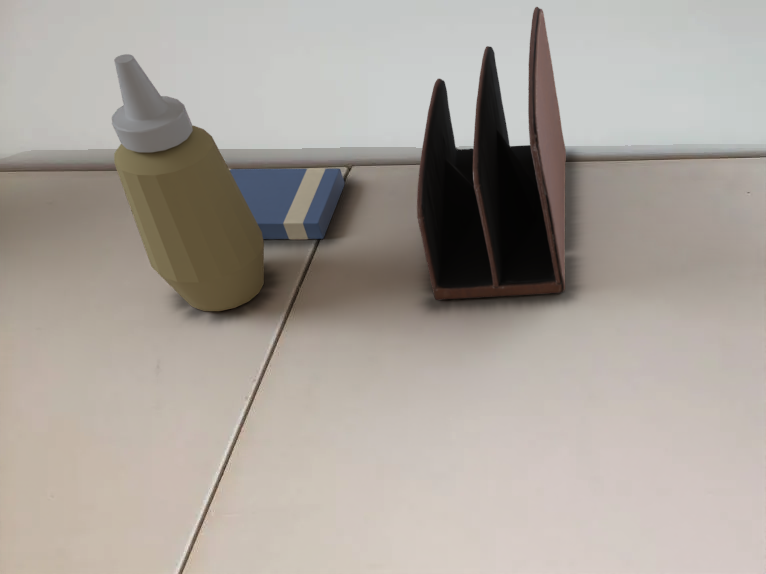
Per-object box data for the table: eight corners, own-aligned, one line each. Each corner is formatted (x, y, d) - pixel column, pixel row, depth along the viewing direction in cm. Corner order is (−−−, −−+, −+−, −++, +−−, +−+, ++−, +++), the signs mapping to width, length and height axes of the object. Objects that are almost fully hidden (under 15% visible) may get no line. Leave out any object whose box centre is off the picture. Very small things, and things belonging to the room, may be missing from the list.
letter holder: (566, 155, 94) (546, -11, 83) (566, 295, 82) (542, 122, 71) (451, 161, 94) (416, -5, 83) (433, 303, 81) (389, 129, 70)
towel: (204, 184, 91) (198, 168, 90) (345, 184, 91) (340, 167, 90) (174, 240, 86) (167, 223, 85) (323, 239, 86) (318, 223, 85)
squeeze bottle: (148, 314, 80) (28, 82, 66) (206, 251, 85) (105, 23, 71) (246, 330, 79) (144, 97, 65) (298, 265, 84) (214, 36, 70)
